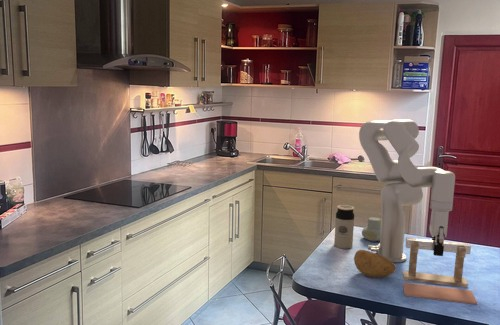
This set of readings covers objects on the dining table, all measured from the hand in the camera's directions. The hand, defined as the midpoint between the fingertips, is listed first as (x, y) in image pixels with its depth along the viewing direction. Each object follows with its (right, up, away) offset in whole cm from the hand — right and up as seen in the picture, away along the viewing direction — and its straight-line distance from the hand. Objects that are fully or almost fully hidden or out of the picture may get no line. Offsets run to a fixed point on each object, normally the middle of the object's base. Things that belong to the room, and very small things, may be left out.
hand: (436, 251), depth 176 cm
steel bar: (0, +1, 0) cm, 1 cm away
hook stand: (0, -11, +2) cm, 11 cm away
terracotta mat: (-3, -13, -10) cm, 16 cm away
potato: (-22, -10, +4) cm, 25 cm away
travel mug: (-27, -5, +37) cm, 46 cm away
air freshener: (-11, -3, +47) cm, 49 cm away
